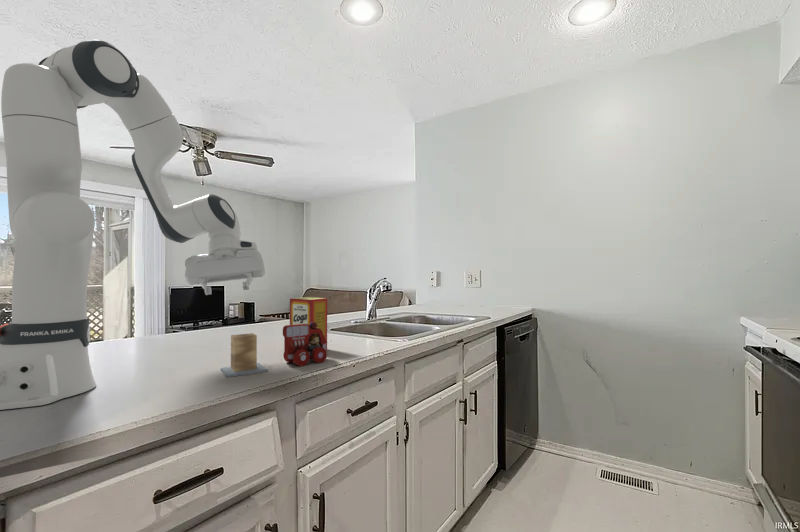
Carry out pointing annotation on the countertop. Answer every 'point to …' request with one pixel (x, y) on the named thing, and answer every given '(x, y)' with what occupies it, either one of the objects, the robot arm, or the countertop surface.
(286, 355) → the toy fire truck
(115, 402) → the countertop surface
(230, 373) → the mat
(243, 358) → the block
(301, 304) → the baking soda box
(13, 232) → the robot arm
